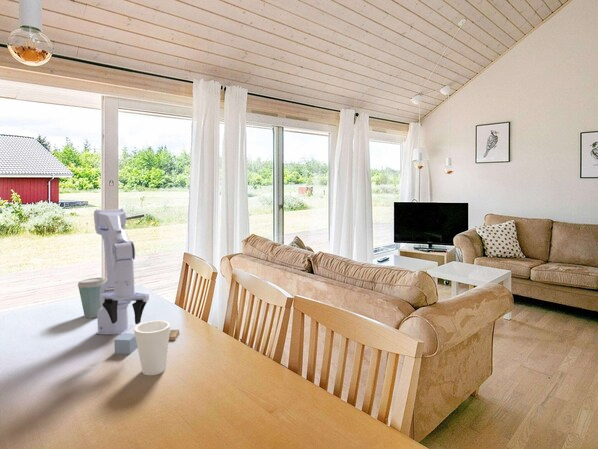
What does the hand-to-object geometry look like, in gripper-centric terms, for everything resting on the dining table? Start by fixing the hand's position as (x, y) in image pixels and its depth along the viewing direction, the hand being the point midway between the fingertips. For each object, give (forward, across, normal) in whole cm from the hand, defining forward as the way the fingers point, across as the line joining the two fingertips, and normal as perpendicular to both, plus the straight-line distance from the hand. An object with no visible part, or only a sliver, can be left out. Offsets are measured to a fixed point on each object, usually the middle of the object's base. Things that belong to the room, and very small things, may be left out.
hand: (126, 322), depth 122 cm
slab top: (+9, +9, +11) cm, 17 cm away
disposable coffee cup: (+10, -30, +31) cm, 44 cm away
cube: (+10, 0, 0) cm, 10 cm away
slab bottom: (+10, +9, +11) cm, 17 cm away
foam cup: (+10, +14, -11) cm, 20 cm away
